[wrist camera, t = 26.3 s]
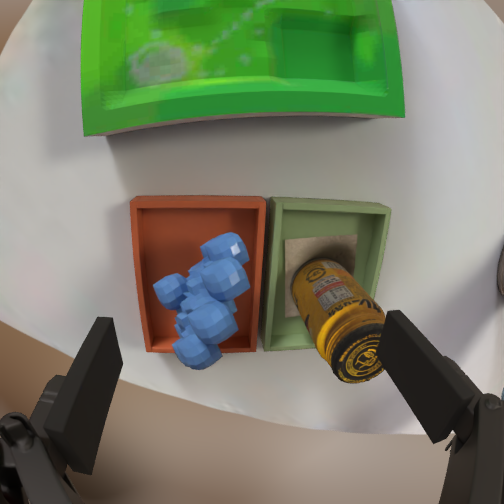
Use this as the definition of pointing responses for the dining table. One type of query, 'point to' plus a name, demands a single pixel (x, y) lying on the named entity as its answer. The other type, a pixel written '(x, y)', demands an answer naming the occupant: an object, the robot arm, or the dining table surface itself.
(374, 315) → the condiment
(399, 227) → the dining table surface
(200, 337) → the grapes
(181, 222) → the terracotta tray
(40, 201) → the dining table surface
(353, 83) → the tray
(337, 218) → the green tray
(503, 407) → the robot arm
